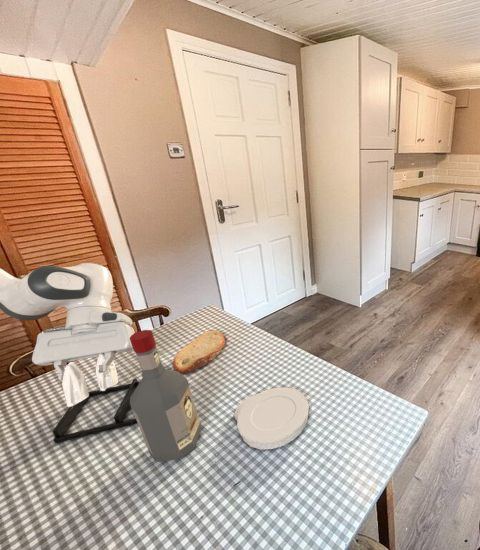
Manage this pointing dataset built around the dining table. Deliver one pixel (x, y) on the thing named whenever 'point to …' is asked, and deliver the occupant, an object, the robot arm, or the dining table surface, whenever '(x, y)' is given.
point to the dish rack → (118, 417)
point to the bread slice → (199, 352)
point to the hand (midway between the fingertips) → (84, 375)
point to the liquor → (163, 404)
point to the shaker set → (77, 385)
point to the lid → (272, 417)
